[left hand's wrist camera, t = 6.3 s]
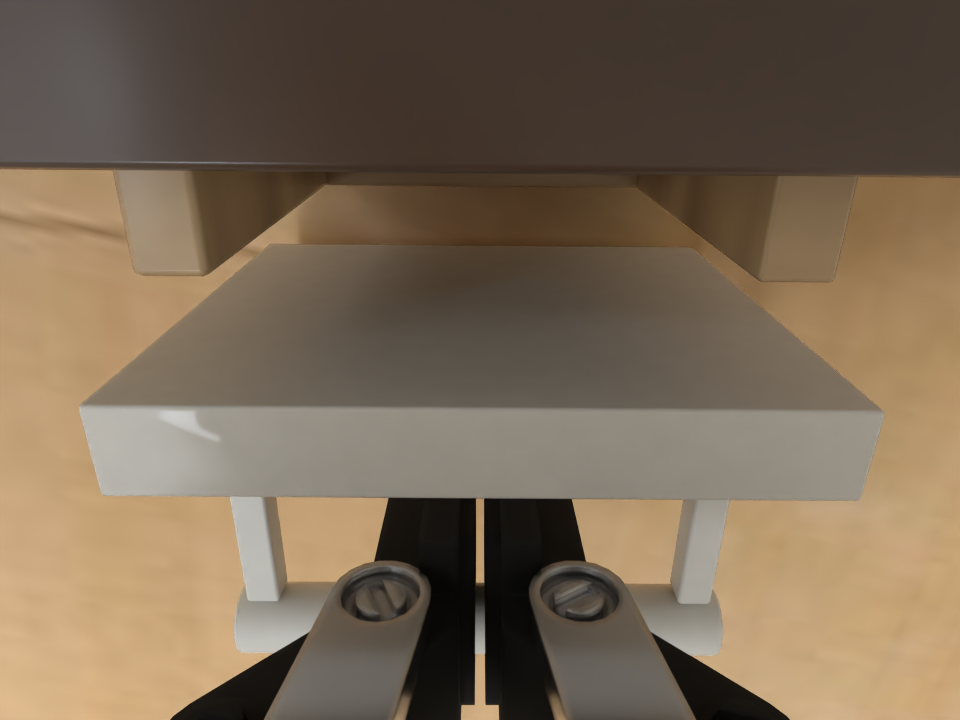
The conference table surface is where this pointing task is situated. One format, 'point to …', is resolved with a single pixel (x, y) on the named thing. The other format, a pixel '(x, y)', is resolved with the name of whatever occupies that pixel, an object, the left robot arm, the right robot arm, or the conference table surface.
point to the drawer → (481, 373)
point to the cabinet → (483, 86)
